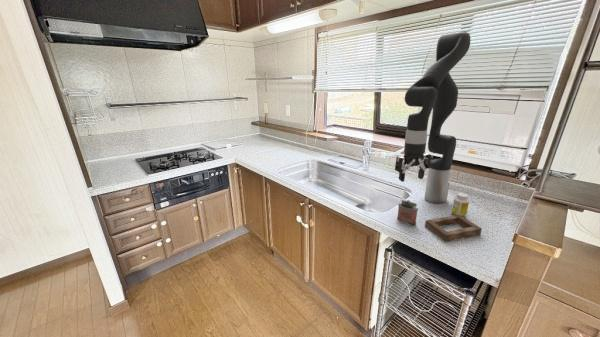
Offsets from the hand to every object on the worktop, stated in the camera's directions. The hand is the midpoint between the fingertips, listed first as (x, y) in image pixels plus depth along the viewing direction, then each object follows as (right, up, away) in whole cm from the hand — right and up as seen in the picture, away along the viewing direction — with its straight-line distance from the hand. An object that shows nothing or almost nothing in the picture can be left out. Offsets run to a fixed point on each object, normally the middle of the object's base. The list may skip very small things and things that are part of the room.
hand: (411, 179), depth 99 cm
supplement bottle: (+26, -17, +10) cm, 32 cm away
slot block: (+16, -21, -1) cm, 26 cm away
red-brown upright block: (+1, -19, +7) cm, 20 cm away
